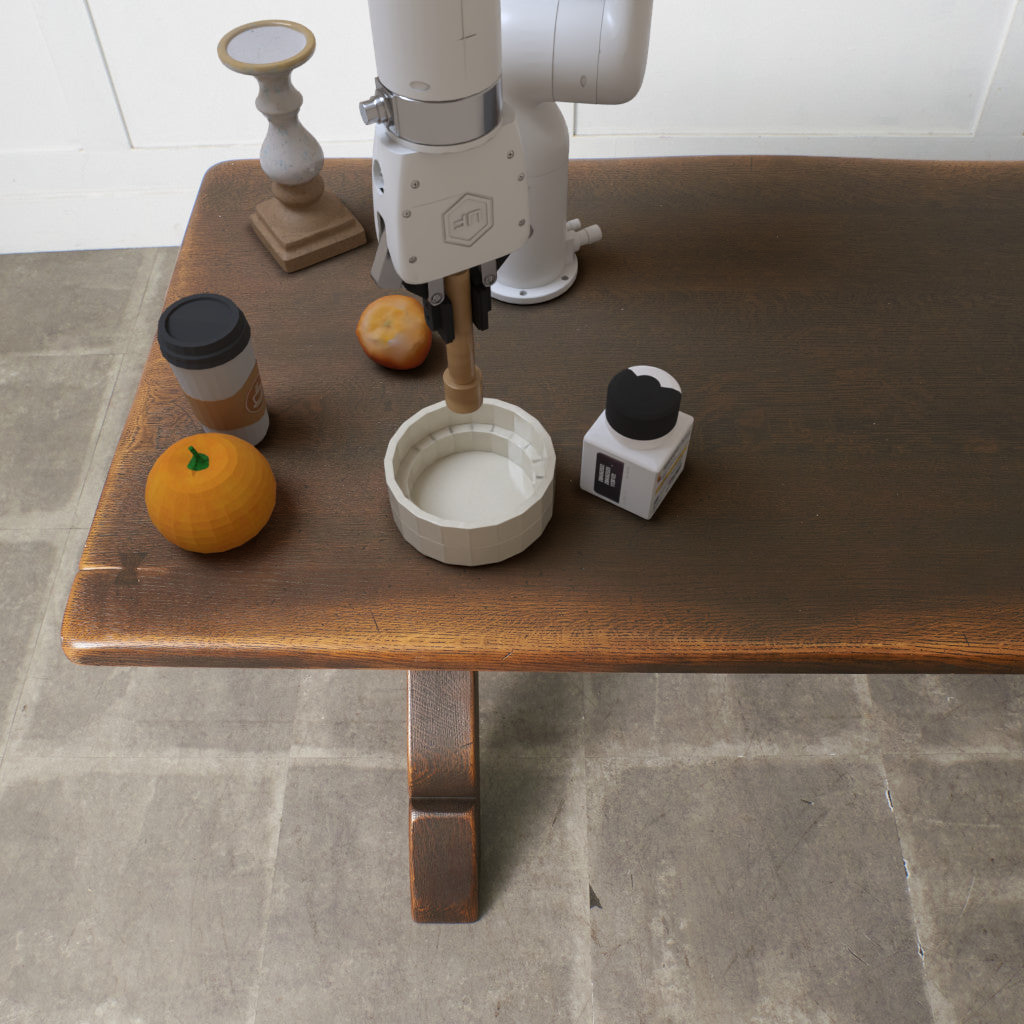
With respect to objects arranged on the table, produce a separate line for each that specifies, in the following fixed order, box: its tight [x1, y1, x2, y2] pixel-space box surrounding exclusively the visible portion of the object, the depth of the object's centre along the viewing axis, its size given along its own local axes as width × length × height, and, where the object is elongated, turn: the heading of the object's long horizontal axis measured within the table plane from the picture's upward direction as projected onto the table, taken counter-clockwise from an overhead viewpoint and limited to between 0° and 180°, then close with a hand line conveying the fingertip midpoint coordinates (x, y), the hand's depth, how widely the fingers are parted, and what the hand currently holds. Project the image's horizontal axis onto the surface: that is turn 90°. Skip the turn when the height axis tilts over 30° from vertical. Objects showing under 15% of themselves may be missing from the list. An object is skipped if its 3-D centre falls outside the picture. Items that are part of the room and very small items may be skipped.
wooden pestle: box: [442, 269, 484, 414], centre depth 73 cm, size 3×3×14 cm
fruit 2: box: [355, 294, 433, 371], centre depth 101 cm, size 8×8×8 cm
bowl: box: [383, 397, 557, 567], centre depth 88 cm, size 16×16×6 cm
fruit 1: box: [144, 432, 277, 554], centre depth 86 cm, size 12×12×10 cm
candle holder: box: [216, 19, 367, 274], centre depth 106 cm, size 11×11×24 cm
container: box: [579, 365, 695, 520], centre depth 87 cm, size 8×8×13 cm
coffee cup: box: [156, 292, 270, 447], centre depth 90 cm, size 8×8×15 cm
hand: (459, 324), depth 72 cm, fingers closed on wooden pestle, 2 cm apart
